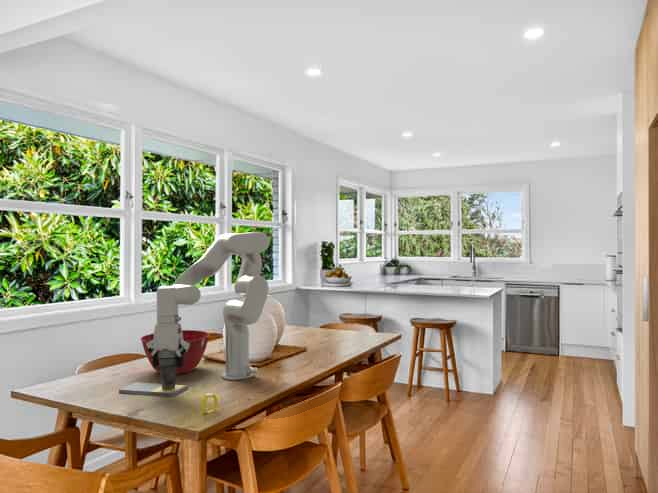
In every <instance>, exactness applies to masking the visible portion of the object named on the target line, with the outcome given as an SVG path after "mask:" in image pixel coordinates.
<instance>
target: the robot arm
mask: <svg viewBox="0 0 658 493" xmlns="http://www.w3.org/2000/svg"><path fill="white" fill-rule="evenodd" d="M269 246H270V239H269V236H268V235H267V234H266V233H265V232H262V231H249V232H241V233H238V232H237V233H235V232H234V233H223V234H220V235H219V236H218V237H216V239H214V241H213V242H212V243H211V244H210V246H209V247H208V249H207V250H206V251H205V253H203V254H202V256H201V257H200V258H199V259H198V260H197V261H196V262H194V263H193V264H192V265H191V266H190V267H188V268H187V269H185V270H184V271H183V272H182V273H181V274H180V275H179V276H178V277H177V279H176V280H175V281H174V282H173V283H172V285H165V286H164V285H163V286H159V287H158V288H157V289H156V323H155V326H154V330H153V333H154V338H153V340H151V341H150V342H148V343H146V345H147V347H148V350H149V352H150V353H151V355H152V356H153V366H154V367H155V366H158V365H159V359H158V356H159V354H158V353H159V351H161V350H162V349H168V350H170V351H175V352H176V354H177V355H178V357H177V368H180V367H182V366H183V363H184V355H185V353H186V352H187V351H188V349H189V346H190V344H189V343H187V342H185V341H184V340H183V333H182V330H183V327H182V324H181V321H182V317H181V316H179V305H180V306H181V305H183V306H185V305H186V306H192V305H194V304H197V302H199V301H200V299H201V295H202V294H201V290H200V289H199V287H197V286H196V285H197V284H198V283H200V282H201V281H203V280H206V279H208V278H210V277H213V276H214V275H216V274H217V273H218V272H219V271H220V270H221V268H222V267H223V265H224V264H225V263H226V262H227V260H228V259H229V258H230V257H231V256H232V255H236V256H237V255H241V264H240V268H239V272H238V274H237V278H236V280H235V283H234V293H235V294H236V295H237V296H238V297H241V298H244V299H240V298H239V299H238V298H236V299H231V300H228V301H227V302H226V303H225V304H224V306H223V310H222V315H223V316H222V317H223V322H224V330H225V332H224V333H225V372H223V373H221V378H222V379H224V380H230V381H232V380H233V381H237V380H240V381H241V380H247V379H250V378H252V377H254V376H253V375H254V374H257V375H258V373H259V368H258V367H252V363H250V333H249V327H248V325H251V326H252V325H253V324H256V323H257V322H258V321H259V319H260V318H261V316H262V313H263V310H264V307H265V304H266V300H267V298H268V294H269V283H268V281H267V279H266V278H265V277H264V276H263V275H261V271H262V267H263V261H262V257H261V254H260V253H263V252H265V251H266V250H267V249H268V248H269ZM179 321H180V322H179ZM152 344H153V346H154V348H153V347H152ZM183 346H184V349H183V350H182V348H183Z"/></svg>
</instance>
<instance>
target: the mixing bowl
mask: <svg viewBox="0 0 658 493" xmlns="http://www.w3.org/2000/svg"><path fill="white" fill-rule="evenodd" d="M182 333H183V340H184V341H185V342H187V343H189V344H190V346H189V349H188V351H187V352H186V353H185V355H184V363H183V366H182V367H180V368H177V371H176V376H177V375H183V374H184V375H185V374H187V373H190V372H192V371H193V370H194V369H196V368H197V367H198V365H199V364H200V363H201V361H202V358H203V356H204V354H205V352H206V348H207V346H208V345H207V344H208V341H209V336H210V333H209V332H207V331H203V330H196V329H195V330H190V329H187V330H186V329H185V330H183V329H182ZM153 338H154V332H153V333H148V334H145V335H144V336H142V337H140V341H141V344H142V348H143V350H144V354H145V355H146V357H147V360H148V361H149V364H150V366H152V368H153V370H155V371H156V372H158V373H160V364H159V365H158V366H155V367H154V366H153V356H152V355H151V353H150V352H149V350H148V347H147V345H146V343H148V342H150V341H151V340H153ZM152 347H153V348H154V346H153V344H152ZM183 349H184V346H183V348H182V350H183ZM159 352H160V351H159ZM158 354H159V353H158Z"/></svg>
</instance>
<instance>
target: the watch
mask: <svg viewBox="0 0 658 493" xmlns="http://www.w3.org/2000/svg"><path fill="white" fill-rule="evenodd" d="M209 398H212V399H213V405H212V408H211V410H208V411H207V409H206V402H207V400H209ZM218 403H219V401H218V398H217V396H216V395H215V393H214V392H206V393H205V394H204V397H203V398H202V402H201V410H202V413H204V414H206V415H208V414H211V413H214V412H215V411H216V409H217V408H218Z"/></svg>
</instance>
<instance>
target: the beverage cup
mask: <svg viewBox="0 0 658 493" xmlns="http://www.w3.org/2000/svg"><path fill="white" fill-rule="evenodd" d="M177 357H178V355H177V354H176V352H175V351H170V350H168V349H162V350H161V351H160V352H159V356H158V359H159V364H160V372H159V373H160V382H161V383H160V384H161V385H162V390H172V389H175V385H177V384H176V382H177V375H176V371H177Z"/></svg>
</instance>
